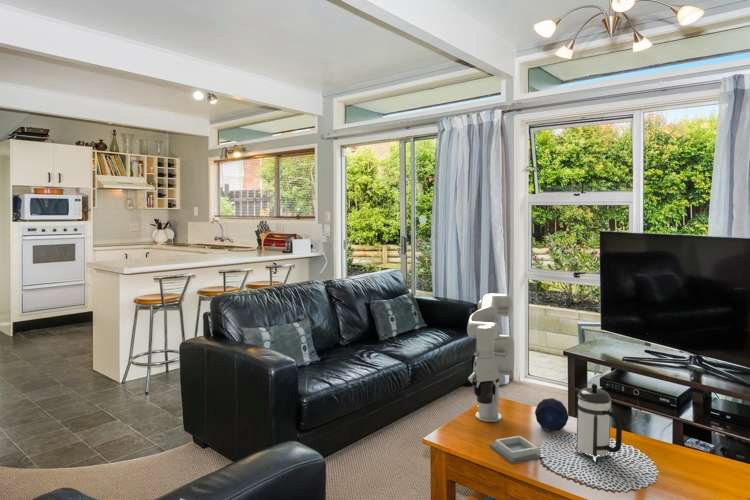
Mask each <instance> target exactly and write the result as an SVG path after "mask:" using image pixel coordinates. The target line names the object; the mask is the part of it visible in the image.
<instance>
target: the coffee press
mask: <svg viewBox="0 0 750 500" xmlns="http://www.w3.org/2000/svg"><path fill="white" fill-rule="evenodd" d="M577 398H578V401H577V413H576V414H577V417H576V419H577V420H576V446H575V447H576V449H578V450H580V451H582V452H585V453H587V454H591V455H594V456H597V455H600V456H602V455H606V454H608V455H609V453H610V452H611V453H617V452H619V451H620V450H621V448H622V439H623V438H622V435H623V434H622V432H623V428H622V421H621V418H620V416H619V415H617V413H616V412H614V411H611V403H612V397H611V396H610V394H609V393H608V391H605V390H604V389H602V388H598V385H597V384H596V383H592V384H591V387H584V388H581V389H580V390H579V392H578V393H577ZM611 418H612V419H613V420H614V422H615V425H616V427H615V428H616V429H615V446H613V447H612V446H611V444H610V443H611V442H610V441H611V440H610V439H611ZM582 452H581V453H582ZM608 452H609V453H608ZM606 456H607V455H606Z"/></svg>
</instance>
